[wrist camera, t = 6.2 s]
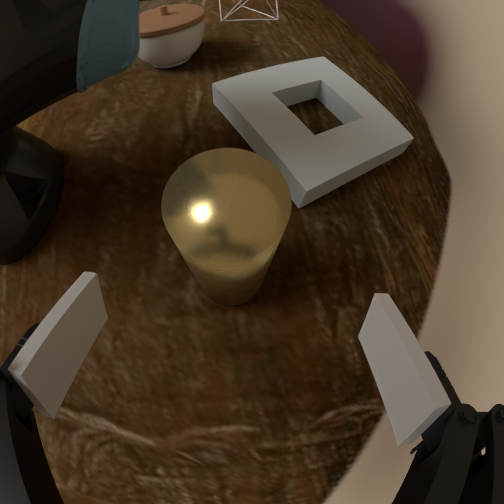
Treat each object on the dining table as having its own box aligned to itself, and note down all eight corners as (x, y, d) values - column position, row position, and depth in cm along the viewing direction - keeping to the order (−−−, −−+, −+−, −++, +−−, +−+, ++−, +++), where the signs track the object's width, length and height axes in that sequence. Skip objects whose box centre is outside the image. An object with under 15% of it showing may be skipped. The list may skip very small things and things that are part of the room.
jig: (298, 208, 24) (306, 191, 21) (213, 103, 28) (212, 83, 25) (402, 153, 27) (414, 138, 24) (318, 73, 31) (323, 56, 28)
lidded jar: (133, 55, 32) (121, 9, 23) (197, 37, 33) (194, -10, 25) (139, 86, 29) (123, 29, 20) (216, 64, 31) (215, 7, 22)
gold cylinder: (219, 318, 21) (199, 288, 9) (188, 263, 22) (143, 181, 10) (274, 284, 22) (316, 219, 10) (241, 233, 23) (247, 132, 11)
